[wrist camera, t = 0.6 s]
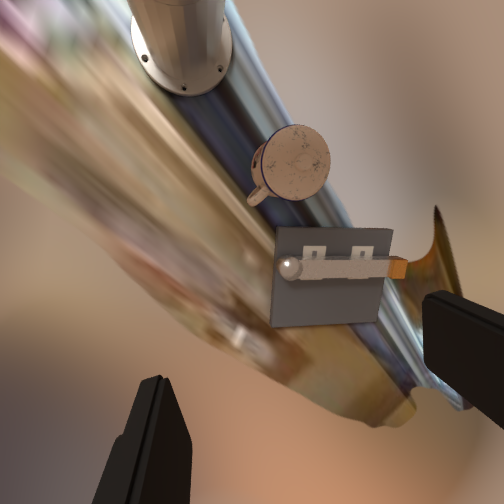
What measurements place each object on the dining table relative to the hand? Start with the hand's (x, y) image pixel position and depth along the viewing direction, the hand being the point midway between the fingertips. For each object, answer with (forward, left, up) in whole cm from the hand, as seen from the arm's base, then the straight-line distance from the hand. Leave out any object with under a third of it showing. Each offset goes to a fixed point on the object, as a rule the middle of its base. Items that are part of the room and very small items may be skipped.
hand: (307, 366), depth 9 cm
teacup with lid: (-8, +7, -33) cm, 35 cm away
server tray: (+9, +19, -33) cm, 39 cm away
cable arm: (+6, +19, -31) cm, 36 cm away
